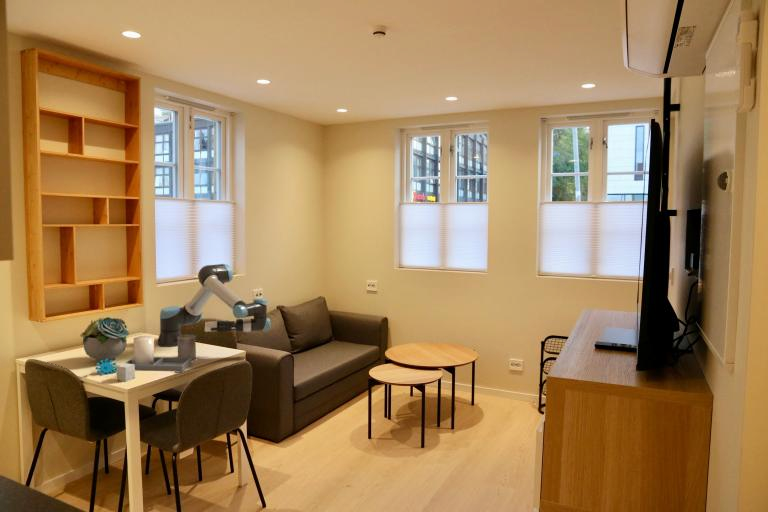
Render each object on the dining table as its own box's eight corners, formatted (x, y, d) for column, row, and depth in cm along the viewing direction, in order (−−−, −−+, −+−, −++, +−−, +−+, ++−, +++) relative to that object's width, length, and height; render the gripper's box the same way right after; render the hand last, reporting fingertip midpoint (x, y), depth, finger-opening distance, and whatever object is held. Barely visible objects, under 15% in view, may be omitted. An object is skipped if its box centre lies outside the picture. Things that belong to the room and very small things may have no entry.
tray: (135, 363, 292) (135, 356, 291) (191, 363, 293) (191, 357, 293) (122, 371, 276) (122, 364, 275) (182, 372, 277) (182, 365, 277)
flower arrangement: (131, 353, 310) (131, 312, 308) (128, 365, 287) (127, 321, 285) (83, 356, 301) (83, 314, 299) (75, 368, 278) (75, 323, 276)
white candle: (138, 362, 289) (138, 335, 288) (156, 363, 289) (156, 336, 288) (130, 368, 279) (130, 340, 278) (149, 368, 279) (149, 340, 278)
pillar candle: (192, 356, 308) (191, 331, 307) (198, 360, 300) (198, 334, 299) (175, 359, 302) (174, 333, 300) (181, 363, 294) (180, 336, 293)
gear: (95, 375, 263) (96, 358, 268) (93, 381, 266) (93, 364, 272) (120, 375, 269) (119, 358, 275) (117, 381, 272) (117, 364, 278)
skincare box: (135, 378, 265) (135, 364, 264) (125, 382, 259) (125, 367, 259) (125, 377, 267) (125, 362, 266) (116, 380, 261) (115, 365, 261)
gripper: (244, 336, 297) (204, 338, 291) (242, 327, 321) (205, 328, 314) (244, 323, 297) (204, 324, 290) (242, 315, 320) (205, 316, 314)
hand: (204, 326), depth 302 cm, fingers open, 13 cm apart
